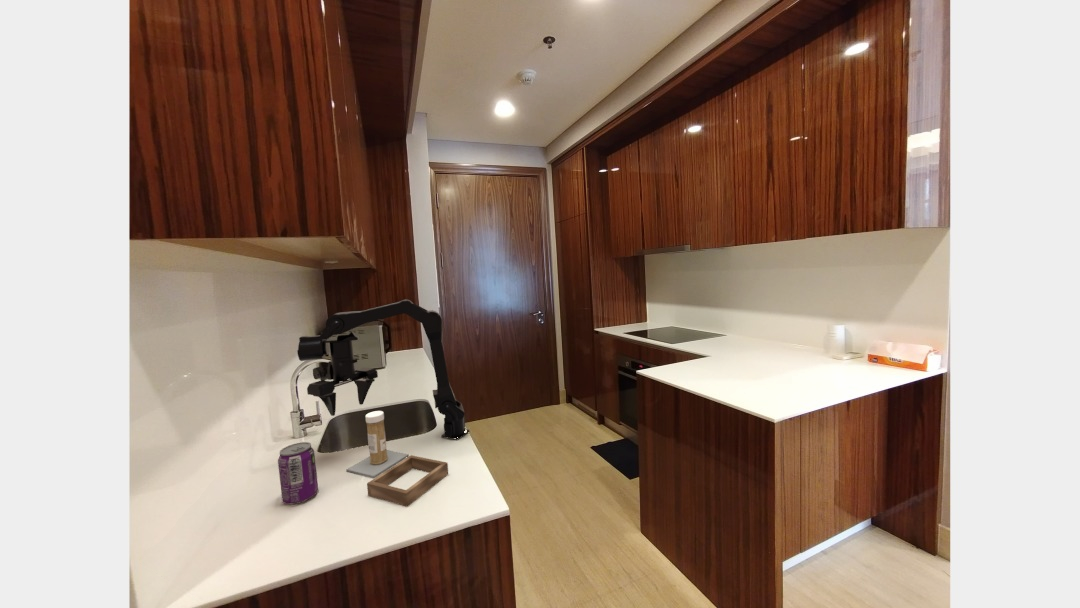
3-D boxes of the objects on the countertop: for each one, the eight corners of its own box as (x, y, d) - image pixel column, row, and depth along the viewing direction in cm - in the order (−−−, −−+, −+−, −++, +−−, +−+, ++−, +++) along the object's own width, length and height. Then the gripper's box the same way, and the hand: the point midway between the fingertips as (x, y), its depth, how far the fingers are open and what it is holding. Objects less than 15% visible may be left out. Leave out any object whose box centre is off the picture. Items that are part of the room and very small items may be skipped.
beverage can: (325, 490, 89) (320, 442, 88) (299, 508, 82) (293, 456, 82) (302, 487, 91) (297, 440, 90) (274, 504, 84) (269, 454, 83)
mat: (382, 450, 109) (382, 448, 108) (408, 456, 104) (408, 454, 104) (346, 471, 98) (346, 469, 98) (373, 478, 94) (373, 476, 93)
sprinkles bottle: (390, 460, 101) (386, 412, 100) (373, 467, 98) (368, 417, 97) (384, 455, 104) (379, 408, 103) (367, 461, 101) (362, 413, 100)
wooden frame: (412, 466, 99) (411, 455, 98) (448, 473, 94) (447, 462, 93) (368, 495, 86) (366, 483, 86) (407, 506, 81) (406, 493, 81)
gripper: (351, 349, 118) (356, 397, 119) (291, 363, 101) (297, 418, 102) (376, 350, 113) (381, 400, 114) (318, 365, 96) (324, 423, 98)
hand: (347, 409), depth 107 cm, fingers open, 9 cm apart
